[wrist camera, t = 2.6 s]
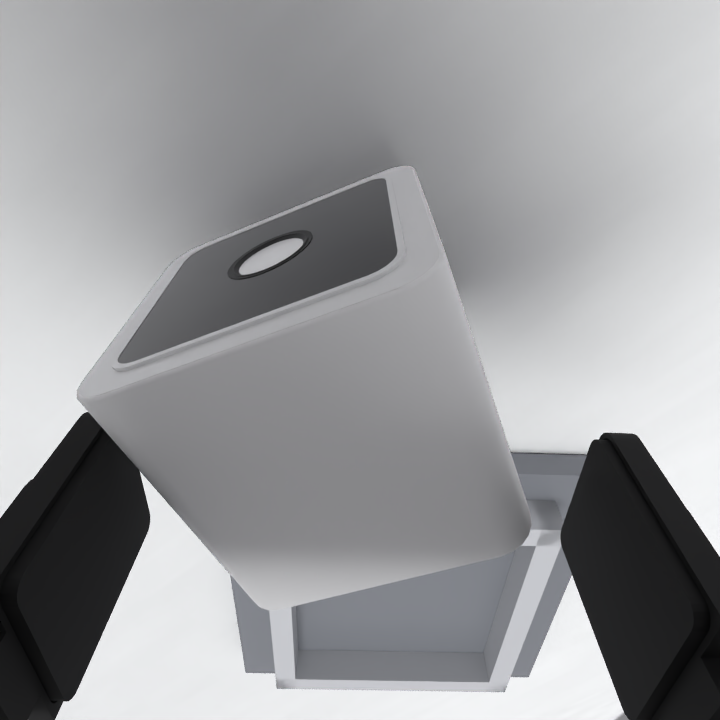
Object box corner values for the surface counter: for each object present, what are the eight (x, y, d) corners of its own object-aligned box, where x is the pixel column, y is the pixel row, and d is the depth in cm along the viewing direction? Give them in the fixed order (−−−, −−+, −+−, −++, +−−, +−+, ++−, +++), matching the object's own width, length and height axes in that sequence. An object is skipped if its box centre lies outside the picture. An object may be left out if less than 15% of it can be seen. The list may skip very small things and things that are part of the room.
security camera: (399, 127, 15) (451, 266, 7) (464, 323, 19) (550, 573, 10) (207, 207, 16) (54, 409, 8) (303, 377, 20) (264, 639, 12)
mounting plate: (219, 445, 22) (204, 495, 20) (602, 455, 22) (629, 505, 20) (249, 651, 31) (240, 701, 28) (522, 655, 31) (535, 706, 29)
